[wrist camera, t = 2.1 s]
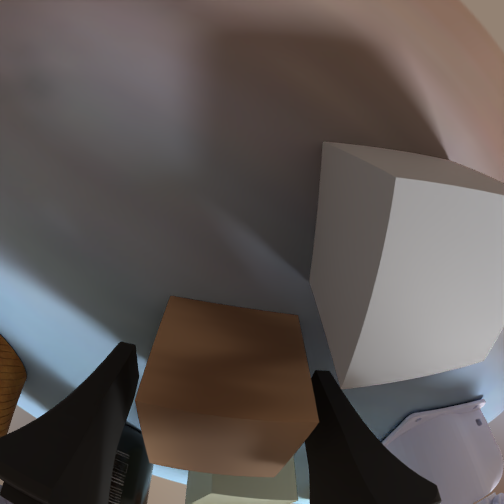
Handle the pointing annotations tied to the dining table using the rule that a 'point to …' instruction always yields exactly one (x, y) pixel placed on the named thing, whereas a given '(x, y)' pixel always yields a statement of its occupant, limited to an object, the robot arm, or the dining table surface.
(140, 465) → the supplement bottle
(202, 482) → the sage-green block
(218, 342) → the walnut block
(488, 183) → the light grey block
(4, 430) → the disposable coffee cup
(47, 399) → the dining table surface
